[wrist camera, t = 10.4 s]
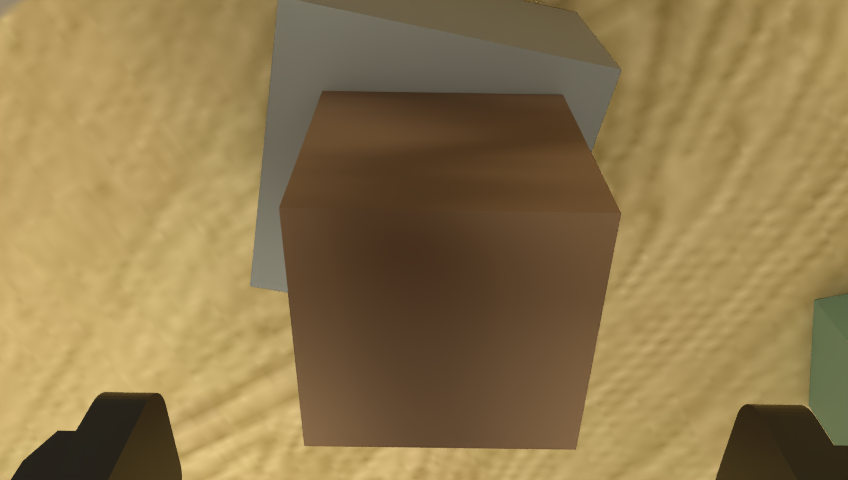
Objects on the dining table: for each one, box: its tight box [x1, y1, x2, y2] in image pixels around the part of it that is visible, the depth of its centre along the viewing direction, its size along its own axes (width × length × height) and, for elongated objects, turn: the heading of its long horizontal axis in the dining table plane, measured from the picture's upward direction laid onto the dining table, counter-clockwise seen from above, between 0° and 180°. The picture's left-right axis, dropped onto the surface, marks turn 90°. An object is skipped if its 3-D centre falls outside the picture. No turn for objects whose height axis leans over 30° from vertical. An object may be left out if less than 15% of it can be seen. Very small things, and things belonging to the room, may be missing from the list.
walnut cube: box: [279, 91, 621, 450], centre depth 14 cm, size 5×5×5 cm
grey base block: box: [250, 0, 621, 293], centre depth 18 cm, size 7×7×5 cm
